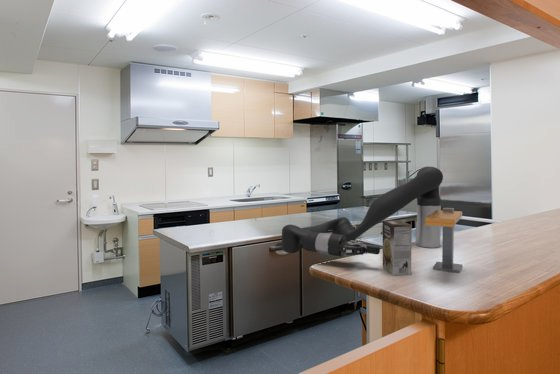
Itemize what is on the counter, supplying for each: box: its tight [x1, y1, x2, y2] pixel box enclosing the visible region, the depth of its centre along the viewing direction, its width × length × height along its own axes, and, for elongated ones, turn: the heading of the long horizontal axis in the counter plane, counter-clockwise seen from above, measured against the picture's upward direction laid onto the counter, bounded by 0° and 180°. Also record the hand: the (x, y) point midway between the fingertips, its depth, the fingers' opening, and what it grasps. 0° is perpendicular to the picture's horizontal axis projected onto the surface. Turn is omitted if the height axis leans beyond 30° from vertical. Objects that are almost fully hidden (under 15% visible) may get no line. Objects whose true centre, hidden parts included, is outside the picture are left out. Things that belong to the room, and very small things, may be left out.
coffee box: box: [381, 219, 413, 276], centre depth 123 cm, size 9×6×16 cm
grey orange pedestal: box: [425, 207, 463, 274], centre depth 119 cm, size 8×22×20 cm, turn 148°
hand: (379, 251), depth 125 cm, fingers closed
